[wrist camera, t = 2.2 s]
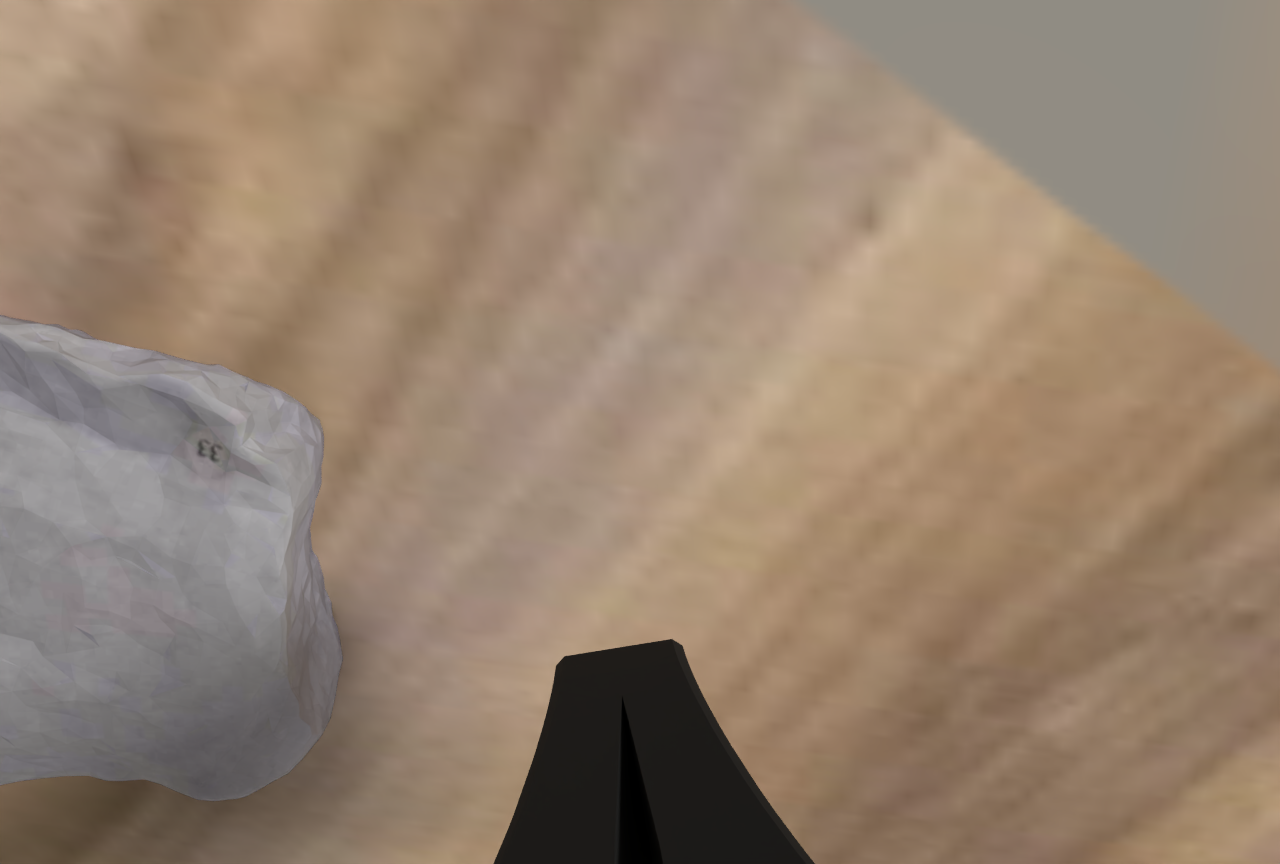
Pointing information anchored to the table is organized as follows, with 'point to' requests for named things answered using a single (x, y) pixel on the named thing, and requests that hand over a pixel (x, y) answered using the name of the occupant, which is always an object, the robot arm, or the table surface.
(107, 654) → the stone block
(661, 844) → the robot arm
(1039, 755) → the table surface
